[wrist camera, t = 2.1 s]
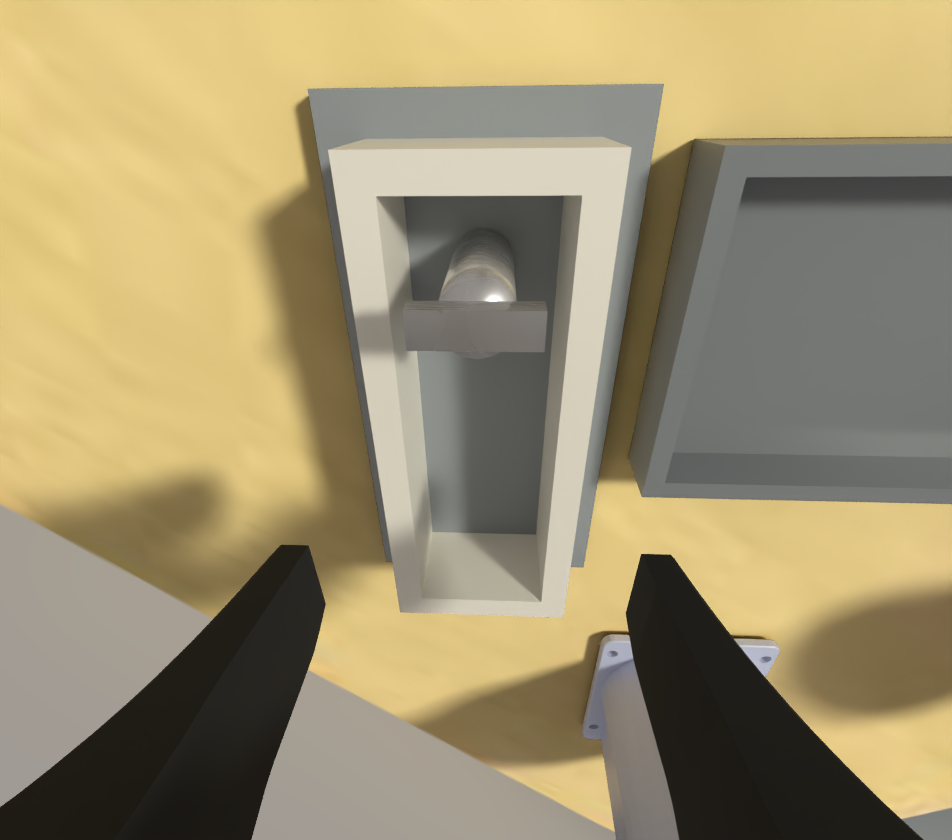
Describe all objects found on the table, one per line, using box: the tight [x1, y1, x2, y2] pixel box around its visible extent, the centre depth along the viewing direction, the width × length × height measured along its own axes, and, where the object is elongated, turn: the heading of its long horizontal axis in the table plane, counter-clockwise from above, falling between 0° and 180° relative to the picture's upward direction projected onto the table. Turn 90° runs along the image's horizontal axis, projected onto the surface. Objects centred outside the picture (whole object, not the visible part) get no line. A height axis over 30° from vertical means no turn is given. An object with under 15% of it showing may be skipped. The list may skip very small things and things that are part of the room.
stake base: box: [308, 84, 664, 567], centre depth 14 cm, size 16×8×6 cm, turn 1°
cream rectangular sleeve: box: [328, 137, 632, 618], centre depth 14 cm, size 16×6×3 cm, turn 1°
